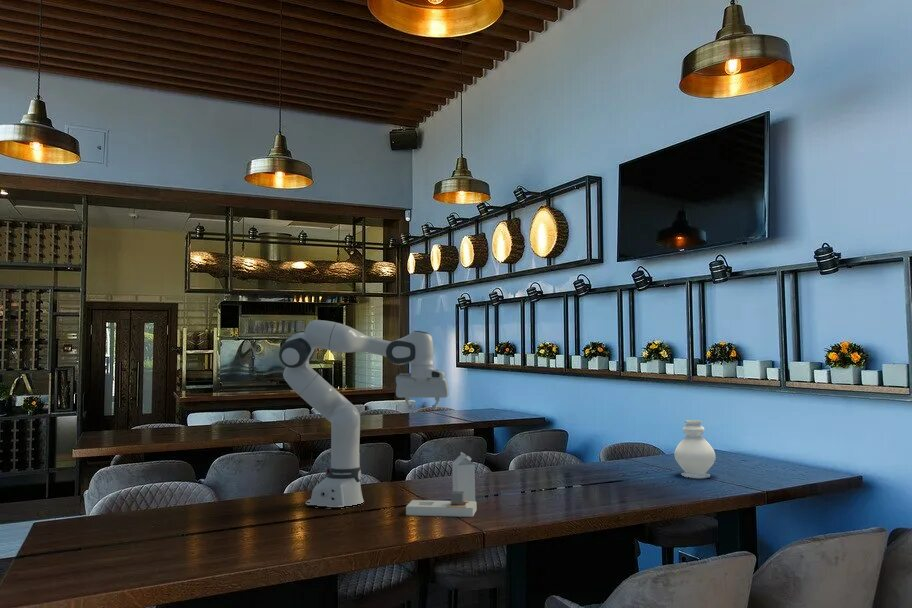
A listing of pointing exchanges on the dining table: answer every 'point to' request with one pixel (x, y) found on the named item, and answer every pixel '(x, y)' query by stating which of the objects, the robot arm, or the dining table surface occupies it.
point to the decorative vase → (694, 451)
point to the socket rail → (441, 508)
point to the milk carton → (464, 476)
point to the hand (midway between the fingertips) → (422, 409)
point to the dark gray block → (457, 498)
